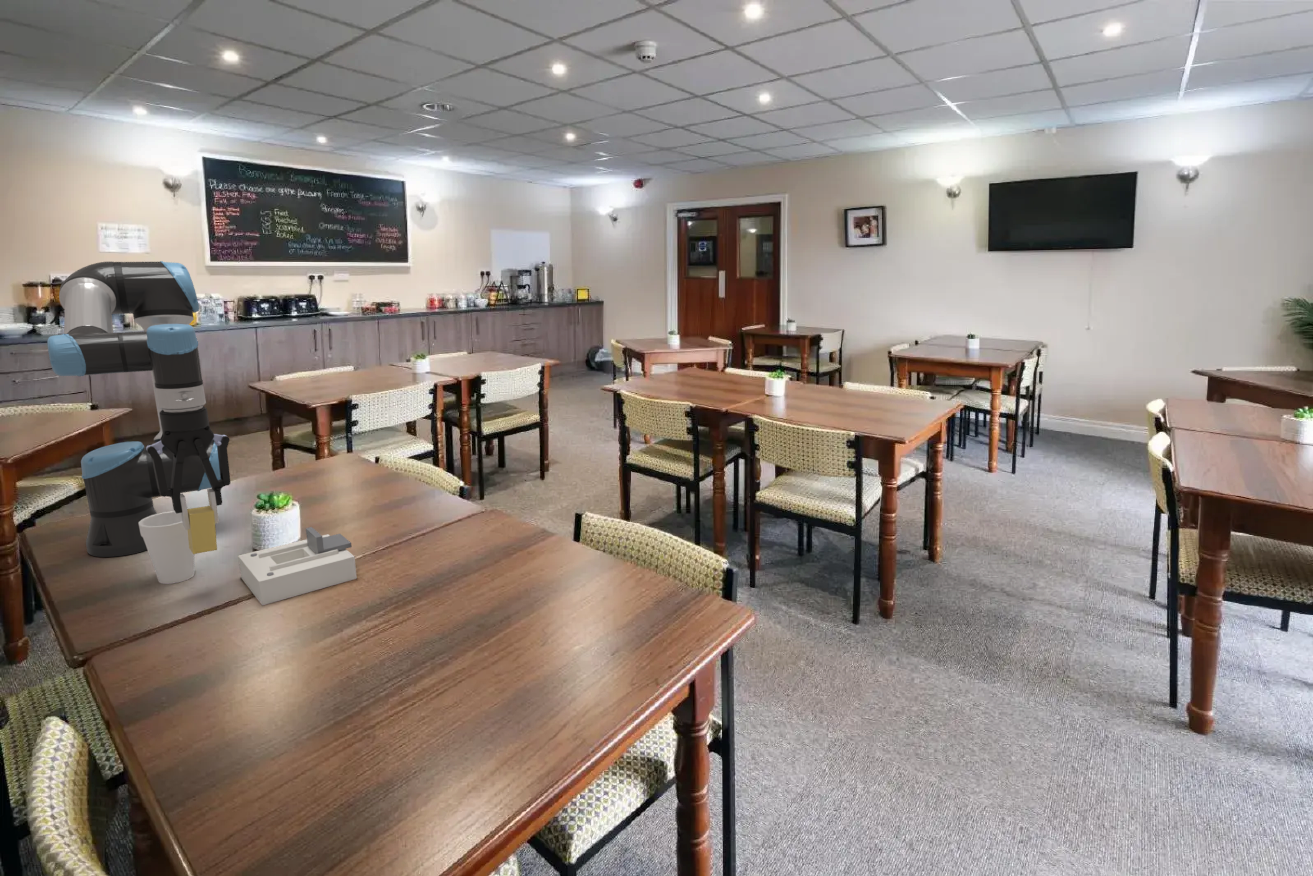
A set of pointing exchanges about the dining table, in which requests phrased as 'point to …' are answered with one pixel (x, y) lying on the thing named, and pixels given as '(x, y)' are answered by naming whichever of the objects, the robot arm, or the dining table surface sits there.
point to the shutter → (325, 541)
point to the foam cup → (168, 547)
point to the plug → (201, 530)
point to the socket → (294, 570)
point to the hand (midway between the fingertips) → (201, 524)
